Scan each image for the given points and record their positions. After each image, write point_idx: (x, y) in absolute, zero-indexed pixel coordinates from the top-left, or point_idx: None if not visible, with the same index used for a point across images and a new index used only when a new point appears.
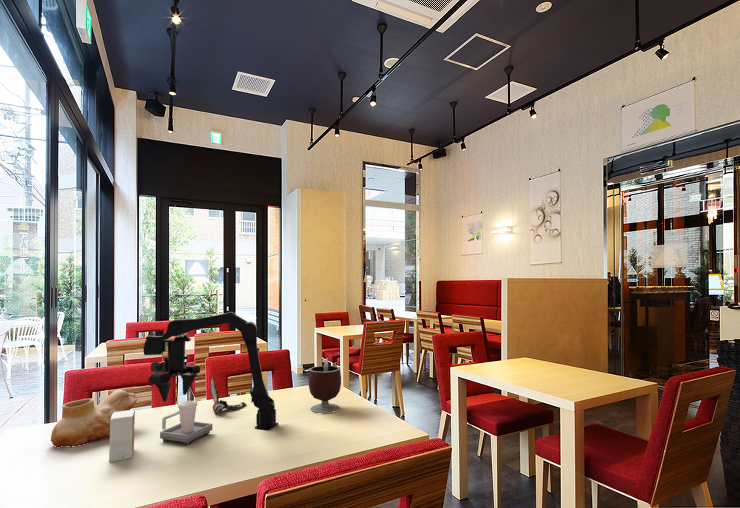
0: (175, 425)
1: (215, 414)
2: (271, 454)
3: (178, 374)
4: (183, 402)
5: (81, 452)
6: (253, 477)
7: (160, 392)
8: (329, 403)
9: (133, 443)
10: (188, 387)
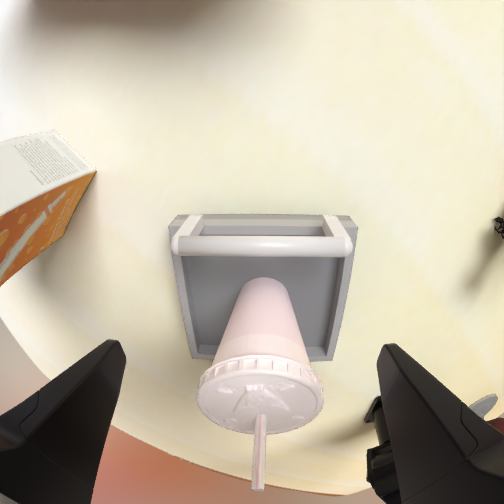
0: (271, 229)
1: (497, 219)
2: (244, 455)
3: None
4: (258, 390)
5: (37, 38)
6: (168, 452)
7: (41, 396)
8: (493, 406)
9: (65, 204)
10: (395, 438)
